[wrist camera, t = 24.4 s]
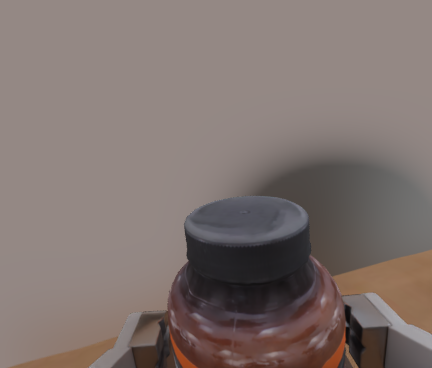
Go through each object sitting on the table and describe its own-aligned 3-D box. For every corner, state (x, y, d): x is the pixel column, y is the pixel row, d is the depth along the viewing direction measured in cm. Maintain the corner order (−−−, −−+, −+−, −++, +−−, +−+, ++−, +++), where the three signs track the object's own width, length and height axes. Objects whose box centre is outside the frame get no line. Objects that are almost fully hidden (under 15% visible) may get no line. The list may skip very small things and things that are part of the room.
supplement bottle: (314, 385, 12) (315, 184, 10) (375, 609, 7) (416, 261, 4) (206, 379, 13) (182, 192, 11) (177, 572, 7) (109, 265, 5)
